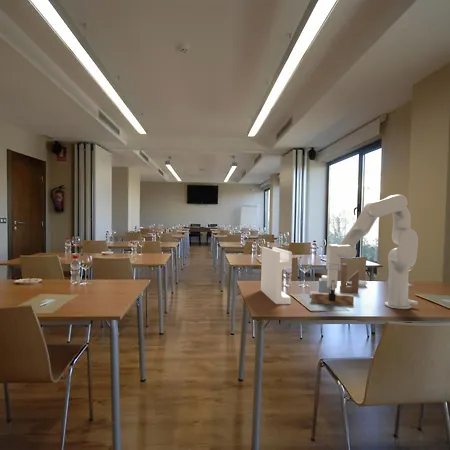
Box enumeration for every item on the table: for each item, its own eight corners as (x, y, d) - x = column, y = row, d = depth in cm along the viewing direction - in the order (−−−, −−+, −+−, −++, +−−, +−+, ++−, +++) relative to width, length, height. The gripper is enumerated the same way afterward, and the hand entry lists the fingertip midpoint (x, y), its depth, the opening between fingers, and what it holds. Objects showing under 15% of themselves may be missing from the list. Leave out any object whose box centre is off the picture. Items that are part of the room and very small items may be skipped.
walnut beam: (352, 304, 187) (352, 295, 187) (353, 305, 184) (353, 296, 183) (311, 300, 193) (311, 291, 193) (311, 302, 189) (311, 293, 189)
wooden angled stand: (358, 293, 216) (359, 264, 216) (340, 292, 218) (341, 264, 218) (357, 292, 220) (357, 264, 220) (339, 291, 222) (340, 263, 221)
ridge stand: (337, 295, 209) (337, 275, 208) (338, 299, 197) (339, 278, 197) (310, 293, 213) (310, 274, 212) (309, 297, 201) (310, 277, 201)
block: (260, 290, 218) (262, 246, 218) (273, 290, 219) (274, 246, 219) (276, 304, 183) (277, 252, 183) (290, 303, 185) (292, 252, 184)
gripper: (325, 264, 197) (324, 296, 197) (326, 268, 181) (325, 302, 181) (339, 265, 195) (338, 297, 195) (341, 269, 179) (340, 304, 179)
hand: (331, 299), depth 188 cm, fingers closed on walnut beam, 4 cm apart
